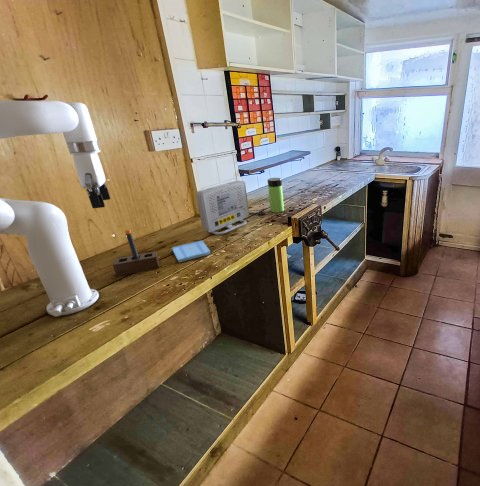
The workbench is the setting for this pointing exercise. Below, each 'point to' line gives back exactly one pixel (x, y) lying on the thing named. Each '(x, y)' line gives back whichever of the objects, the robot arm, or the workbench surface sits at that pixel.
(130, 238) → the stylus
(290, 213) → the workbench surface
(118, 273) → the pen stand
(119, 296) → the workbench surface
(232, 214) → the network device
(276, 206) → the tumbler
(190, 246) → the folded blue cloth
